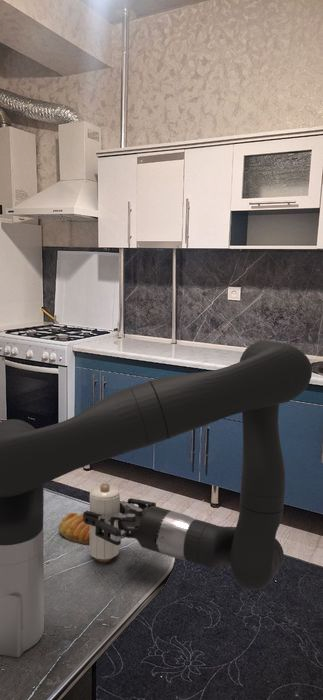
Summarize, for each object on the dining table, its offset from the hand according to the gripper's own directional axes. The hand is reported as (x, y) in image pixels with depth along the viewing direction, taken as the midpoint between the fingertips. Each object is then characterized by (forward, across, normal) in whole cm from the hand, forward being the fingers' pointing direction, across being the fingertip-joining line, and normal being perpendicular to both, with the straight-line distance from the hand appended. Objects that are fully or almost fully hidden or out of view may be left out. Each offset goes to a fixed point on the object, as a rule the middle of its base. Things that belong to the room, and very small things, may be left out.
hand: (94, 509), depth 98 cm
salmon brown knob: (-2, 0, +9) cm, 10 cm away
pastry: (+7, -5, +10) cm, 13 cm away
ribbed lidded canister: (-2, 0, +8) cm, 8 cm away
